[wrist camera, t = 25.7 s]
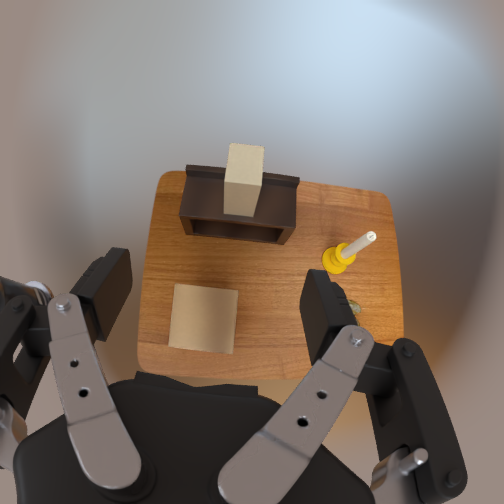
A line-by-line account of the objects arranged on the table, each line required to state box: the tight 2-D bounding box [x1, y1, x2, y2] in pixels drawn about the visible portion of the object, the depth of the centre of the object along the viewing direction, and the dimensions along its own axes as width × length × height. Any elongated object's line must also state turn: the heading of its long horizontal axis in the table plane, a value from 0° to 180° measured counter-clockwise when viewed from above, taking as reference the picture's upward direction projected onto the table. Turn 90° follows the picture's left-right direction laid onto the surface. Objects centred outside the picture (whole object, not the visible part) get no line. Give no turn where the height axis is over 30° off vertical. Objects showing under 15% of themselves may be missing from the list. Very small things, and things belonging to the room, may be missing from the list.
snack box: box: [224, 143, 264, 217], centre depth 39 cm, size 4×6×10 cm
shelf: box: [179, 165, 300, 245], centre depth 47 cm, size 18×8×11 cm, turn 85°
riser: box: [168, 283, 239, 354], centre depth 40 cm, size 8×8×14 cm
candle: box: [322, 231, 376, 274], centre depth 45 cm, size 5×5×16 cm
